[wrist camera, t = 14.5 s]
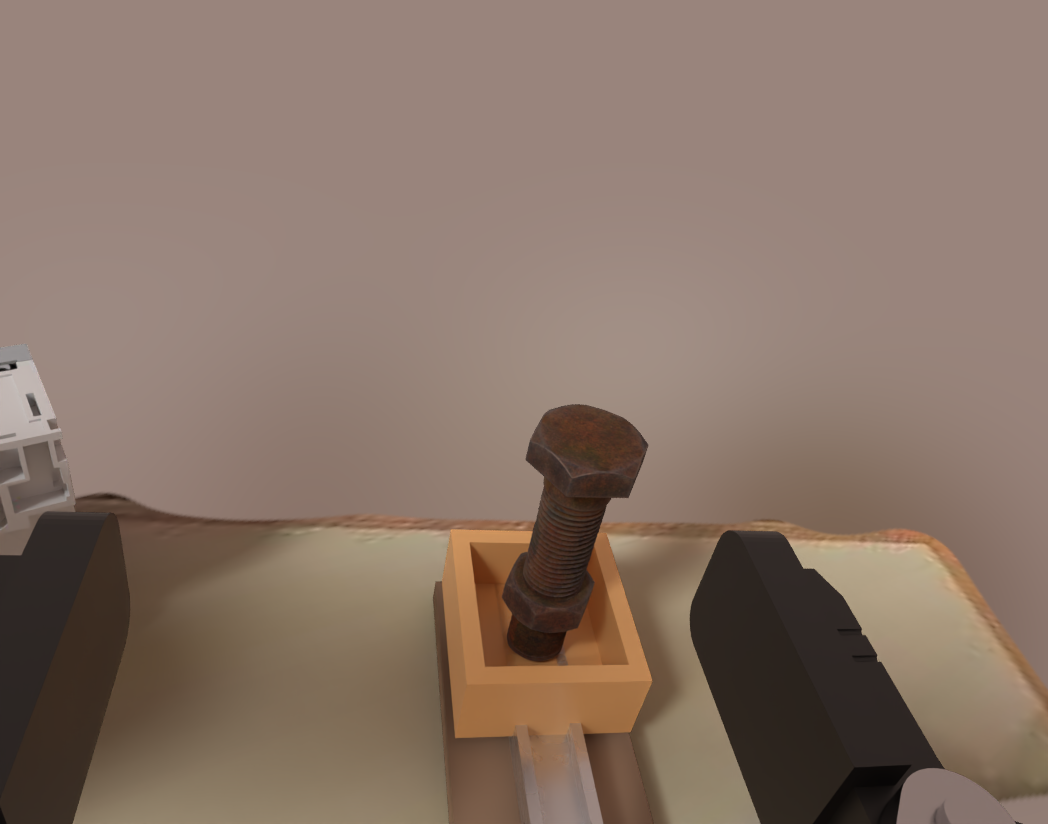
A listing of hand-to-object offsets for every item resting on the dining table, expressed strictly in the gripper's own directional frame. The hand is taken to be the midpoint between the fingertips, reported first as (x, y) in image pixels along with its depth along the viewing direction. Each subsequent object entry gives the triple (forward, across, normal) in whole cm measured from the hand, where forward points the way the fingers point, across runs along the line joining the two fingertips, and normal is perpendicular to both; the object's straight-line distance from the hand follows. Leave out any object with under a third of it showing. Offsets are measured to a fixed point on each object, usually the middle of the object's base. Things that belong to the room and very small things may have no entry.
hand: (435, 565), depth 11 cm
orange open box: (+21, -10, +30) cm, 38 cm away
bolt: (+21, -10, +29) cm, 37 cm away
